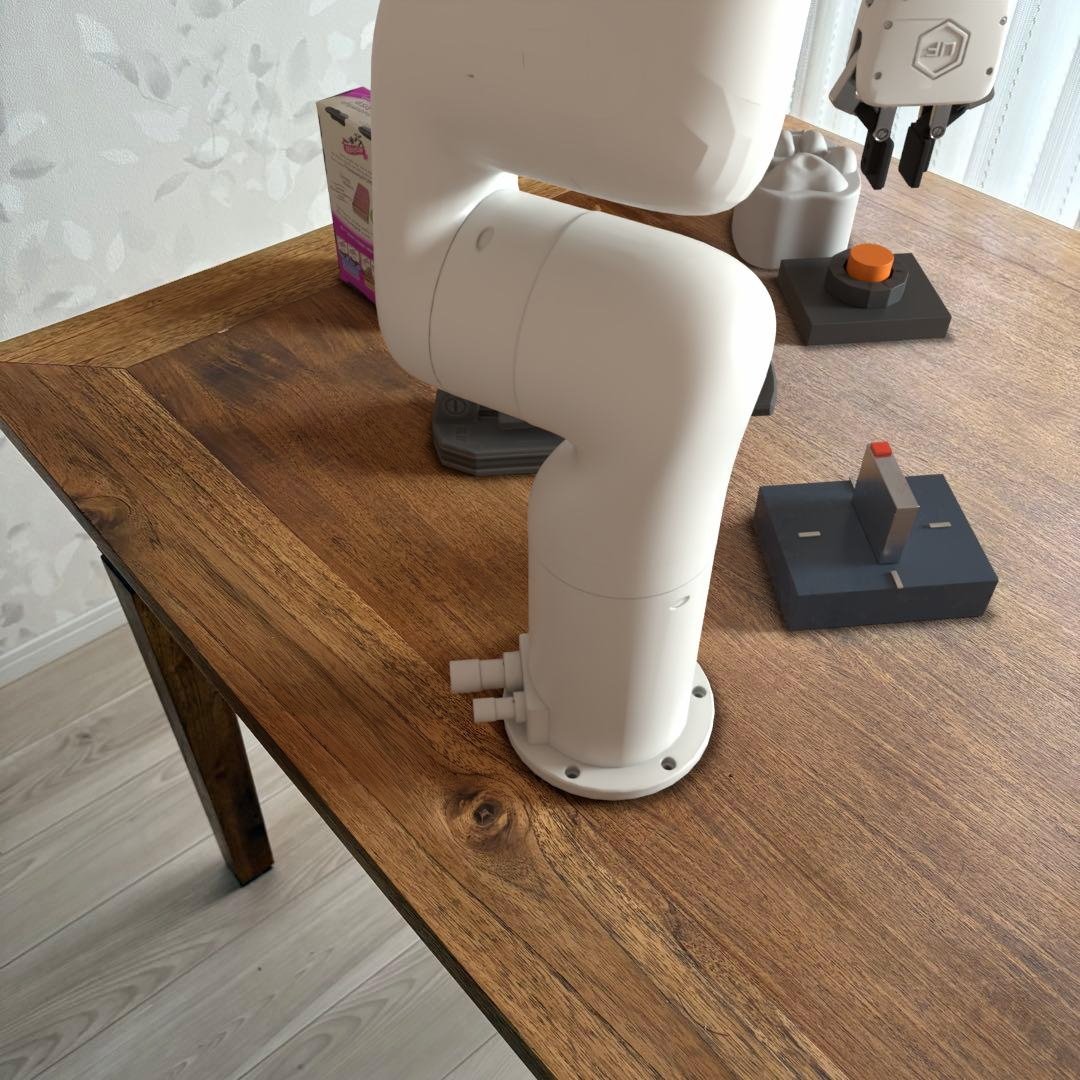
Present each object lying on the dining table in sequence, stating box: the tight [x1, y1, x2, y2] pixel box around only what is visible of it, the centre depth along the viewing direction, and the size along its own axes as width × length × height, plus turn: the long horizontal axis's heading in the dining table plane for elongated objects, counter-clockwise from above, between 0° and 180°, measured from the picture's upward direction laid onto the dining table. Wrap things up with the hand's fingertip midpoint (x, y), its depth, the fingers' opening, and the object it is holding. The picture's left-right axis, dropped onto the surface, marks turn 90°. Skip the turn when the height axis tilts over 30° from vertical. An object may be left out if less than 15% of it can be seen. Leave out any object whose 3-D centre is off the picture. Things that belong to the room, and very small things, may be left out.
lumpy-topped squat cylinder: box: [731, 128, 862, 270], centre depth 102 cm, size 10×13×9 cm
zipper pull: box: [431, 359, 778, 477], centre depth 82 cm, size 9×7×25 cm
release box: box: [776, 248, 953, 347], centre depth 95 cm, size 12×10×4 cm
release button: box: [846, 242, 894, 283], centre depth 94 cm, size 4×4×2 cm
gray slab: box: [852, 441, 919, 564], centre depth 71 cm, size 6×1×5 cm, turn 6°
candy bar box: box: [315, 86, 376, 305], centre depth 92 cm, size 11×5×16 cm, turn 41°
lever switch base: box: [751, 473, 1000, 632], centre depth 74 cm, size 13×10×4 cm
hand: (890, 179), depth 88 cm, fingers closed
